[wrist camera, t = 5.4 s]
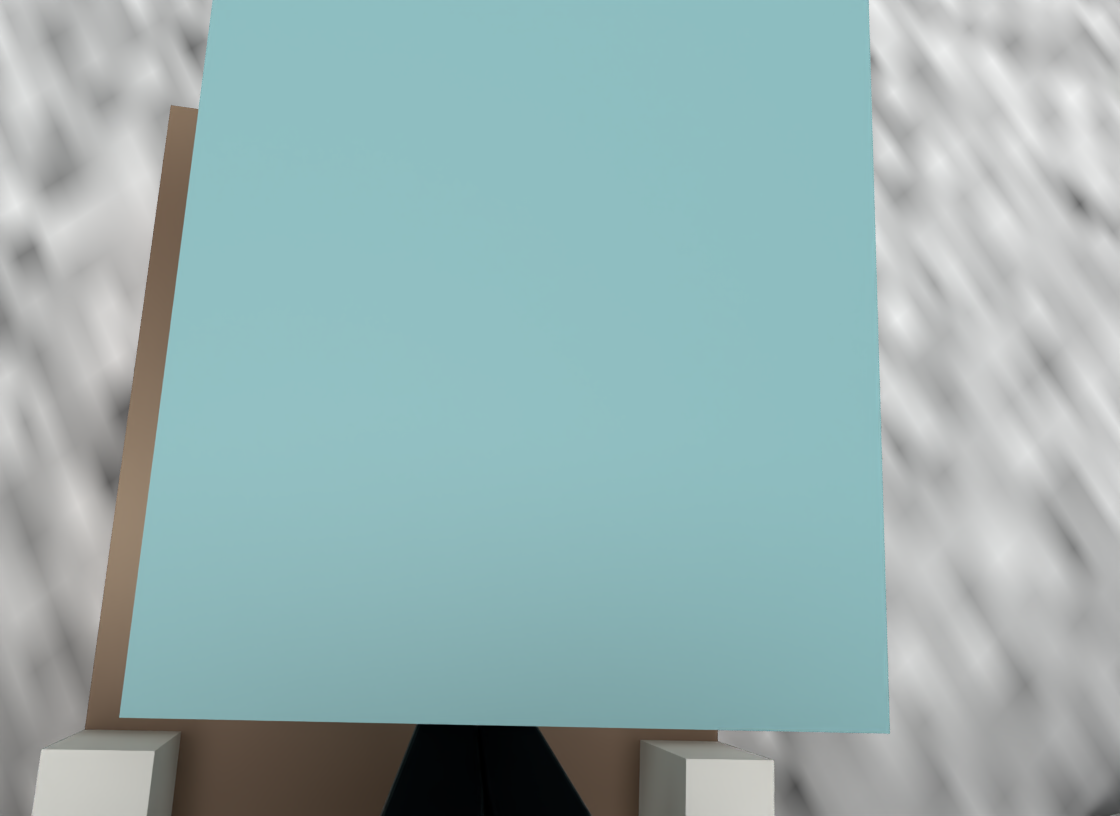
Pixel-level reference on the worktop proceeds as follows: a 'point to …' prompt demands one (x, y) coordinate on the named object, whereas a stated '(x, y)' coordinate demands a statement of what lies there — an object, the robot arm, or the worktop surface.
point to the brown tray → (299, 746)
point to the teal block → (523, 372)
